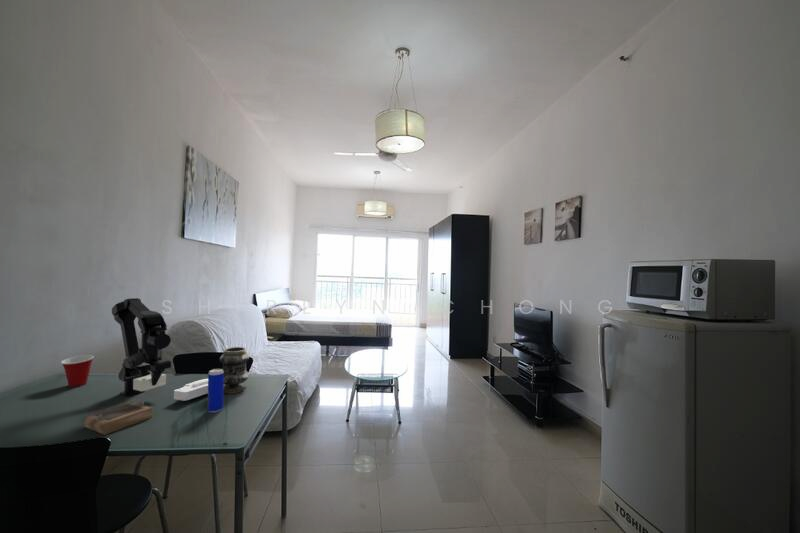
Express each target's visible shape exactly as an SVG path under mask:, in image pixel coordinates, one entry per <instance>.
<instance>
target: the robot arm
mask: <svg viewBox="0 0 800 533" xmlns="http://www.w3.org/2000/svg"><path fill="white" fill-rule="evenodd" d="M111 314H112V316H113V318H114V319H113V320H114V321H116V323H117V324H118V325H120V330H121V335H122V340H123V341H122V343H123V347H124V352H125V358H124V359H123V361H122V365H121V369H120V371H119V373H118V380H119V381H122V382H124V385H123V386H124V389H123V390H124V391H123V390H122V391H120V392H119V394H120V395H124V396H128V397H130V396H134V395H136V394H139V393H143V392H145V391H138V390H134V389H133V379H135V378H139V377H143V376H147V375H151V380H152V385H153V386H154V385H156V383H157V382H158V380H159V378H160V376H161V375H162V374H163V373H164V372H165V370H167V369H170V368H172V366H173V364H172V361H171V360H169V359H162V356H160V351H161V350H163V349H166V348H167V347H169V345H170V344H171V340H172V339H171V337H170V335H168V334H166V331H167V330H168V329H167V327H168V326H167V323H166V320H165V319H164V317H163V315H162V314H161V313H160V312H158V311H154V310H150V309H149V308H148V307H147V306H146V305H145V304H144V303H143V302H142V300H141V299H140V298H137V297H134V298H131V297H130V298H126V299H124V300H123V301H120V302H117V303H116V304H115V305H113V306H112V308H111ZM136 319H137V325H138V327H139V329H140V330H141V331H140V334H141V347H140V348H139V341H138V336H137V329H136V325H135V320H136Z"/></svg>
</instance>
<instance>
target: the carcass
mask: <svg viewBox="0 0 800 533" xmlns="http://www.w3.org/2000/svg"><path fill="white" fill-rule="evenodd" d="M152 417H153V407H151V406H147V405H146V404H145V401H144V400H141V401H140V403H137V402H134V401H131V402H127V403H124V404H120V405H117V406H114V407H111V408H108V409H104V410H102V411H99V412H95V413H91V414H88V415H86V416H85V417H84V427H85V428H87V429H89V430H92V431H94V432H97V433H99V434H102V435H104V436H105V435H109V434H111V433H113V432H116V431H119V430H122V429H125V428H126V427H130V426H133V425H135V424H138V423H142V422H144V421H146V420H149V419H151V418H152Z"/></svg>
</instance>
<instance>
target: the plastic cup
mask: <svg viewBox="0 0 800 533" xmlns="http://www.w3.org/2000/svg"><path fill="white" fill-rule="evenodd" d="M94 357H95V355H92V354H87V355H86V354H85V355H76V356H73V357H68V358H65V359H62V360H61V361H60V364H62V366H63V368H64V372H65V378H66V380H67V385H68V387H69V388H75V387H76V388H77V387H81V386H85V385H87V382H88V379H89V376H90V371H91V365H92V362H93V359H94Z"/></svg>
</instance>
